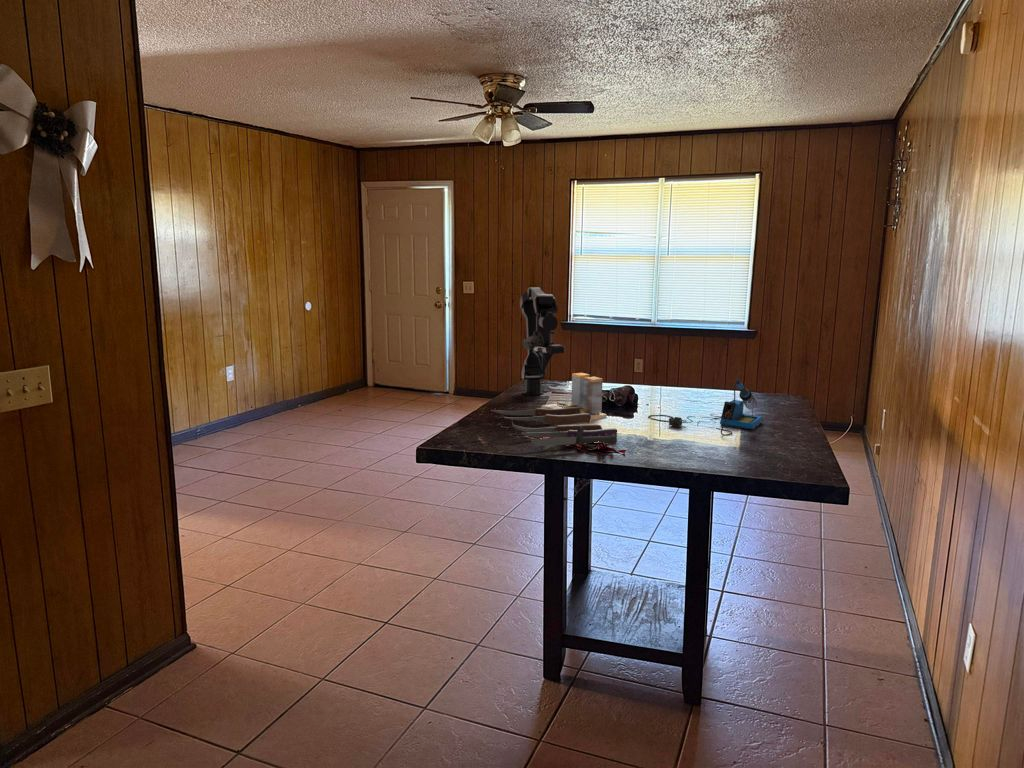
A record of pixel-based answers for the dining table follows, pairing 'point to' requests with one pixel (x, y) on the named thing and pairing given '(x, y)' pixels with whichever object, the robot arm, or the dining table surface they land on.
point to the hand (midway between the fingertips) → (543, 369)
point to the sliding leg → (577, 390)
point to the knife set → (563, 427)
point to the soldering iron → (728, 413)
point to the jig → (588, 399)
